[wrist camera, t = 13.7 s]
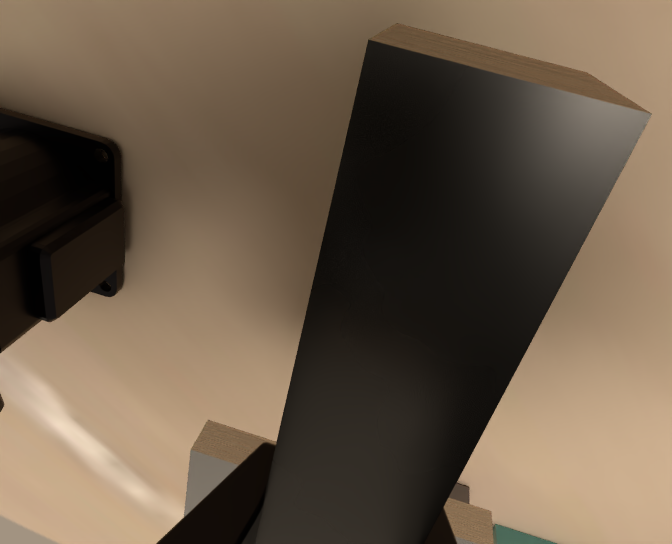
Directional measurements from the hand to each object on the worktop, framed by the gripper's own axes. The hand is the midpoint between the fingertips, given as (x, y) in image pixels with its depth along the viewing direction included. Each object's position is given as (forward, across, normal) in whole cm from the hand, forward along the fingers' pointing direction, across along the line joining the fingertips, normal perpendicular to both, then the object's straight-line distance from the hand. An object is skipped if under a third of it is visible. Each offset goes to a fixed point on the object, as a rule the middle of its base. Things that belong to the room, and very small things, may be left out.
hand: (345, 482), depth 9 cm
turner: (+1, 0, -1) cm, 1 cm away
